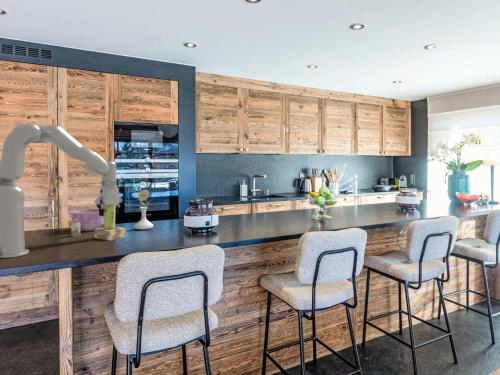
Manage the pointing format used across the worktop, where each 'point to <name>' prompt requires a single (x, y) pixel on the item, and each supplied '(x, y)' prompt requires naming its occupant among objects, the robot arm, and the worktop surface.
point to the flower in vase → (143, 212)
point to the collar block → (110, 233)
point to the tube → (109, 217)
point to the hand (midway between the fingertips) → (109, 215)
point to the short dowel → (75, 229)
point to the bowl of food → (87, 219)
